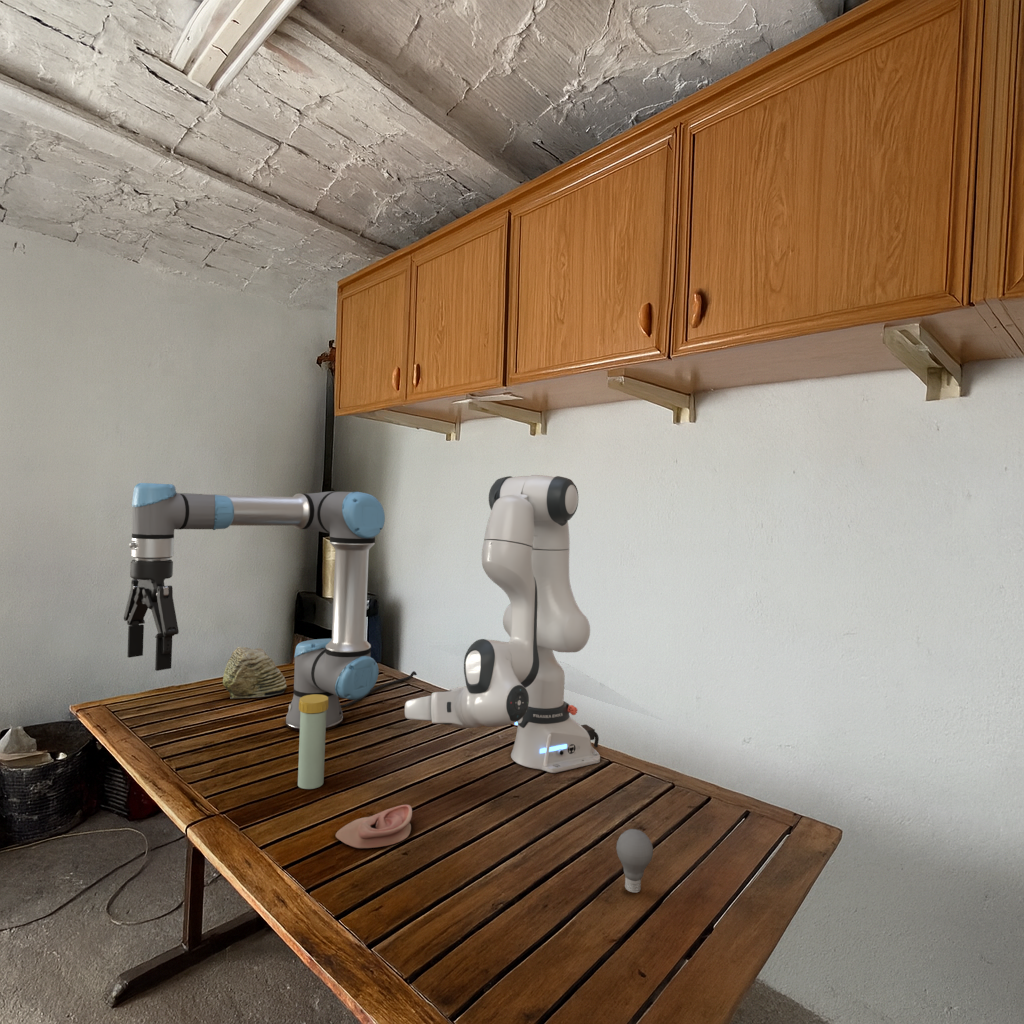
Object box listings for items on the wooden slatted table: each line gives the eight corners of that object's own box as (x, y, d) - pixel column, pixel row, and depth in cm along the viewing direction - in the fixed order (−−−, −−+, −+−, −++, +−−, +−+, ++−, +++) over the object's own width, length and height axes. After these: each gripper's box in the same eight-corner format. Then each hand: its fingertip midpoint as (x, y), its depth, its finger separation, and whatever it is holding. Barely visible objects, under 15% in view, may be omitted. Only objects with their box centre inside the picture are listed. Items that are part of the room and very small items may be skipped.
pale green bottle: (320, 776, 143) (323, 695, 143) (326, 786, 139) (329, 702, 138) (295, 780, 141) (298, 698, 140) (300, 791, 136) (303, 705, 136)
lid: (324, 702, 144) (324, 692, 144) (331, 711, 138) (331, 701, 138) (296, 706, 140) (296, 696, 140) (302, 715, 135) (302, 704, 135)
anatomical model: (328, 822, 116) (356, 794, 127) (327, 843, 116) (355, 813, 127) (396, 832, 113) (418, 803, 124) (395, 855, 113) (418, 823, 124)
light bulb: (610, 879, 108) (613, 822, 108) (644, 879, 109) (647, 822, 109) (619, 902, 102) (622, 840, 102) (655, 901, 103) (658, 840, 103)
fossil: (218, 695, 195) (220, 647, 195) (278, 685, 208) (279, 640, 207) (228, 703, 189) (230, 653, 188) (289, 692, 201) (290, 645, 201)
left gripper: (108, 554, 134) (104, 654, 134) (159, 565, 118) (155, 678, 119) (146, 552, 140) (143, 648, 140) (199, 563, 124) (195, 671, 124)
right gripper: (496, 692, 148) (455, 696, 156) (430, 692, 133) (389, 696, 141) (498, 720, 145) (456, 723, 154) (430, 723, 131) (388, 726, 139)
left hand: (148, 662), depth 129 cm, fingers open, 13 cm apart
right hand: (423, 710), depth 148 cm, fingers open, 8 cm apart
